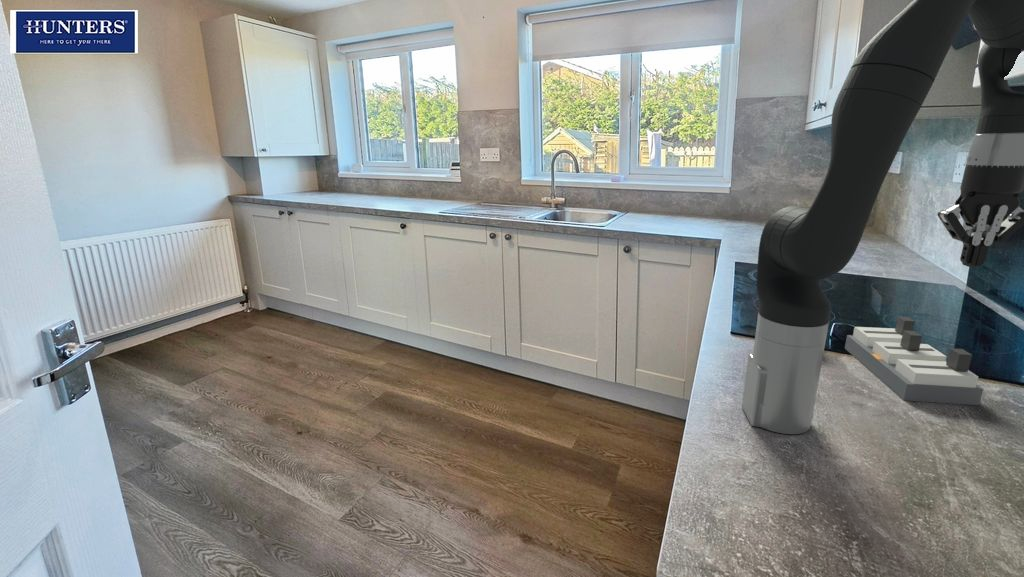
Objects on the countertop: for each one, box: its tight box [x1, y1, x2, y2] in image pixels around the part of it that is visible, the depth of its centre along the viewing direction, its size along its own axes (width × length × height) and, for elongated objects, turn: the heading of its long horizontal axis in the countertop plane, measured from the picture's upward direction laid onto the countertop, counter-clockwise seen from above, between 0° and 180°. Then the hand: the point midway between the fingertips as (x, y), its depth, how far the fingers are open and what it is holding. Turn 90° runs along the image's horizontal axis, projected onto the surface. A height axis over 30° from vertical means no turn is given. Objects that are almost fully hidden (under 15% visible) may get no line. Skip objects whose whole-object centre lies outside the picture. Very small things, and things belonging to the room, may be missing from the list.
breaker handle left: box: [894, 316, 916, 335], centre depth 97 cm, size 2×2×3 cm
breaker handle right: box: [946, 348, 973, 372], centre depth 82 cm, size 2×2×3 cm
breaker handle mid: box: [900, 330, 923, 351], centre depth 90 cm, size 2×2×3 cm
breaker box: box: [844, 326, 984, 406], centre depth 92 cm, size 11×22×5 cm, turn 169°
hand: (971, 265), depth 85 cm, fingers closed
